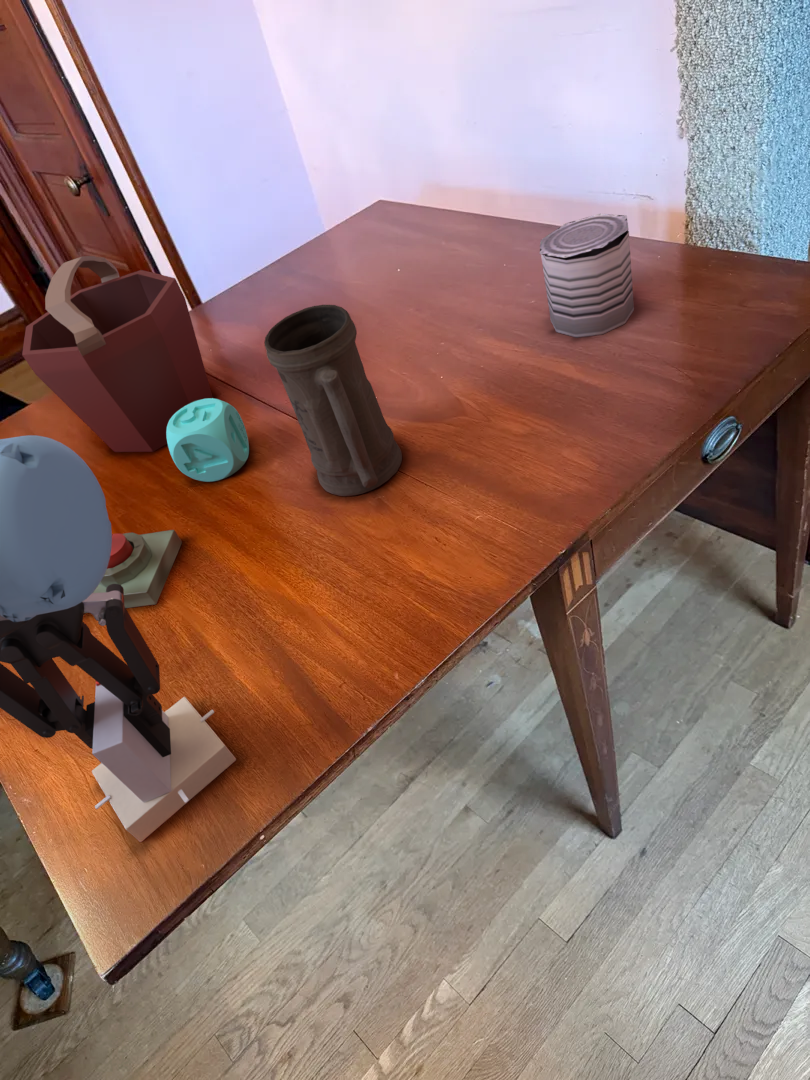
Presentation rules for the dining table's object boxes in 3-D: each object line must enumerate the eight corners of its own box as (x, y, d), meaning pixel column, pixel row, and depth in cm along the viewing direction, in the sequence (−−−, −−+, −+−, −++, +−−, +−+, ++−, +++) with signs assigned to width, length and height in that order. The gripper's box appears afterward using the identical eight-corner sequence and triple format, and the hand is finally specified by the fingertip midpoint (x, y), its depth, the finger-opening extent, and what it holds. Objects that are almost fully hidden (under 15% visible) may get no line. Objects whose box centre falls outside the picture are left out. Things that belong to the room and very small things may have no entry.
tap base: (139, 870, 61) (122, 856, 59) (86, 779, 69) (70, 764, 67) (258, 765, 65) (246, 749, 63) (196, 691, 73) (183, 675, 71)
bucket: (197, 460, 103) (101, 294, 87) (62, 482, 109) (-52, 330, 92) (242, 365, 121) (169, 212, 104) (124, 388, 126) (37, 246, 110)
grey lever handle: (171, 791, 62) (120, 740, 57) (143, 803, 62) (90, 752, 57) (168, 716, 68) (122, 663, 63) (142, 727, 68) (94, 674, 63)
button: (126, 566, 84) (118, 555, 83) (95, 570, 85) (87, 560, 84) (138, 541, 87) (130, 531, 86) (108, 546, 88) (100, 535, 87)
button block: (156, 604, 84) (138, 580, 81) (80, 614, 86) (60, 591, 84) (182, 542, 91) (167, 518, 88) (111, 552, 93) (94, 529, 91)
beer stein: (304, 465, 96) (244, 331, 81) (376, 426, 97) (330, 288, 83) (355, 533, 85) (297, 392, 71) (435, 488, 87) (393, 342, 73)
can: (597, 345, 97) (588, 258, 90) (533, 327, 105) (519, 245, 97) (652, 303, 101) (648, 215, 93) (585, 288, 109) (576, 206, 101)
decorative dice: (245, 475, 98) (219, 426, 92) (189, 488, 99) (160, 440, 94) (252, 439, 104) (228, 391, 98) (199, 452, 105) (173, 405, 100)
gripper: (87, 487, 52) (229, 682, 67) (-127, 572, 51) (66, 749, 67) (82, 554, 46) (238, 750, 62) (-159, 651, 45) (60, 824, 61)
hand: (148, 749), depth 64 cm, fingers closed on grey lever handle, 2 cm apart
